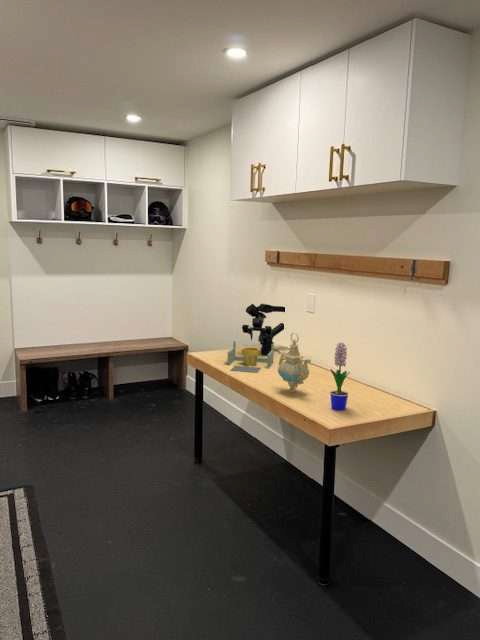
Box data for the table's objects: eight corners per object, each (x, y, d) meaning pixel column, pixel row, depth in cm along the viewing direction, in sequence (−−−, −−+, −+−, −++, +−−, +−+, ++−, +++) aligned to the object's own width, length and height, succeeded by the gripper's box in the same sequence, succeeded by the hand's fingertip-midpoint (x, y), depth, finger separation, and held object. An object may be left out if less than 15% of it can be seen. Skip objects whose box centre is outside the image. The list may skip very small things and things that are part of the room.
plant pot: (238, 363, 304) (239, 347, 302) (253, 362, 308) (254, 346, 307) (246, 367, 294) (246, 351, 293) (261, 365, 299) (262, 350, 297)
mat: (234, 366, 297) (234, 365, 297) (261, 368, 293) (261, 367, 293) (230, 370, 285) (230, 370, 285) (257, 373, 282) (257, 372, 282)
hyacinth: (328, 411, 218) (331, 344, 214) (328, 404, 228) (331, 340, 224) (348, 413, 216) (352, 345, 212) (347, 405, 226) (351, 341, 222)
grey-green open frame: (233, 359, 313) (233, 341, 311) (273, 362, 307) (273, 343, 305) (227, 365, 298) (227, 345, 296) (269, 368, 293) (269, 348, 291)
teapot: (317, 396, 239) (320, 335, 235) (298, 400, 233) (300, 337, 229) (287, 384, 259) (289, 328, 255) (269, 387, 253) (270, 329, 249)
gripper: (243, 312, 317) (238, 332, 308) (271, 313, 313) (268, 333, 304) (245, 322, 326) (241, 342, 317) (273, 324, 322) (270, 344, 313)
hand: (255, 340), depth 313 cm, fingers open, 4 cm apart
